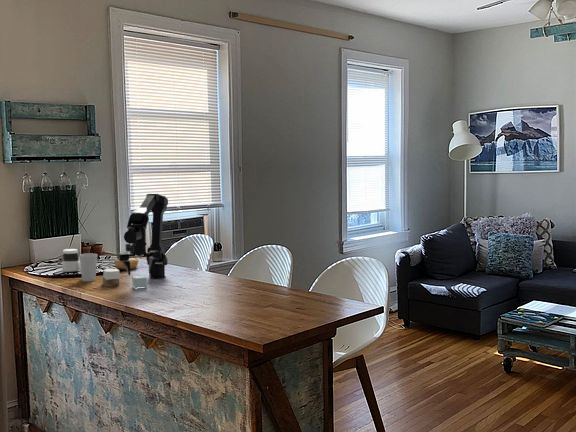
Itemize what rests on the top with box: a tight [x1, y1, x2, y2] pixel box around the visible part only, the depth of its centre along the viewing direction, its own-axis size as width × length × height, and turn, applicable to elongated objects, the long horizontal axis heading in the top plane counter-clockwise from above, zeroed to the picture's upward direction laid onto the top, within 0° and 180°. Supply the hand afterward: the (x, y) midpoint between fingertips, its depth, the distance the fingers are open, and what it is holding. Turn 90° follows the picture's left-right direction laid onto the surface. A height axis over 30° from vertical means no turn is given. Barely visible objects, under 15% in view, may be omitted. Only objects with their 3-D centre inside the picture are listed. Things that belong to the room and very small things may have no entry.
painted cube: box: [132, 275, 148, 288], centre depth 278 cm, size 5×5×5 cm
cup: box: [78, 252, 98, 282], centre depth 291 cm, size 8×8×12 cm
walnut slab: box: [102, 276, 120, 287], centre depth 283 cm, size 6×6×4 cm
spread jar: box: [61, 248, 81, 275], centre depth 305 cm, size 12×11×12 cm
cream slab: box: [102, 268, 121, 280], centre depth 283 cm, size 6×6×4 cm
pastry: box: [113, 251, 139, 271], centre depth 320 cm, size 12×12×9 cm
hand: (139, 274), depth 278 cm, fingers open, 9 cm apart
